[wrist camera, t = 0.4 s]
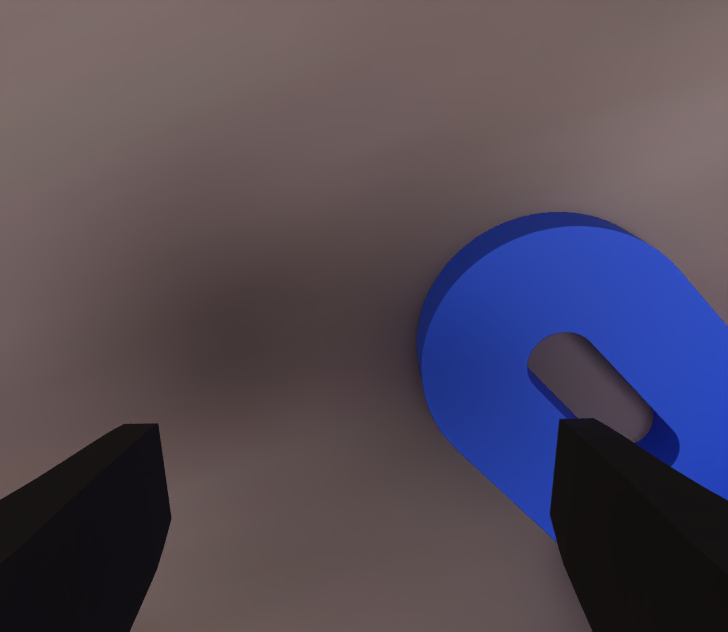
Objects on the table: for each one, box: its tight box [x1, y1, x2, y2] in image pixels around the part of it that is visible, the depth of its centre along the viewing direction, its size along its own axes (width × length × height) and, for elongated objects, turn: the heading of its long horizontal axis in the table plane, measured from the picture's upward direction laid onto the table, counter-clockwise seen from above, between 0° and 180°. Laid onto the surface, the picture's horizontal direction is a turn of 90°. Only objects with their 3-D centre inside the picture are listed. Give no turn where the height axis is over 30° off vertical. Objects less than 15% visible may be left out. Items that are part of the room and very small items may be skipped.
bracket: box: [417, 212, 728, 542], centre depth 18 cm, size 18×8×9 cm, turn 45°
